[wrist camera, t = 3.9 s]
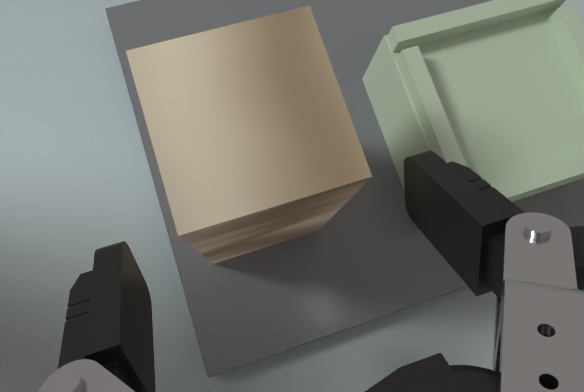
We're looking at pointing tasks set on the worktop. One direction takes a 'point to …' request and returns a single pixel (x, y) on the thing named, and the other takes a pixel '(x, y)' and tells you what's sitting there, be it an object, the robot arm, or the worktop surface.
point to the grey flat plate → (341, 227)
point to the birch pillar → (249, 132)
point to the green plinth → (487, 92)
